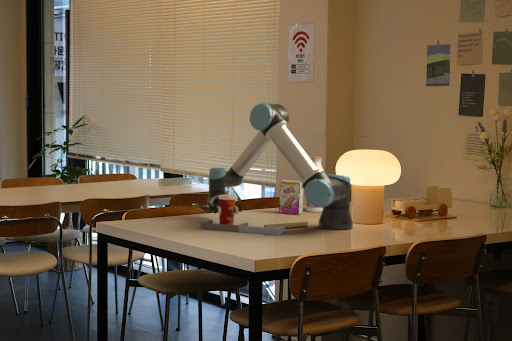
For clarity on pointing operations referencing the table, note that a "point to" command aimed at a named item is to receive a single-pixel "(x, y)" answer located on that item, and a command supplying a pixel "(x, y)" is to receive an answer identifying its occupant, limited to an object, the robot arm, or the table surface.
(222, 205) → the paper cup
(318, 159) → the fruit juice
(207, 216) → the table surface
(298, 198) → the candy bar box
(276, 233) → the bay organizer
